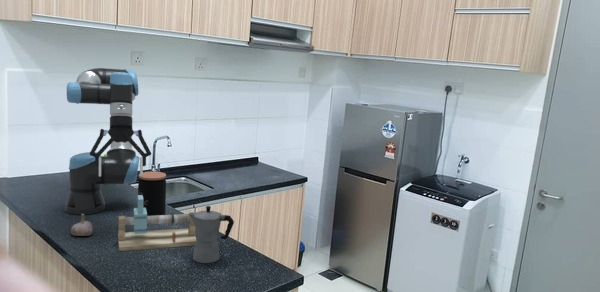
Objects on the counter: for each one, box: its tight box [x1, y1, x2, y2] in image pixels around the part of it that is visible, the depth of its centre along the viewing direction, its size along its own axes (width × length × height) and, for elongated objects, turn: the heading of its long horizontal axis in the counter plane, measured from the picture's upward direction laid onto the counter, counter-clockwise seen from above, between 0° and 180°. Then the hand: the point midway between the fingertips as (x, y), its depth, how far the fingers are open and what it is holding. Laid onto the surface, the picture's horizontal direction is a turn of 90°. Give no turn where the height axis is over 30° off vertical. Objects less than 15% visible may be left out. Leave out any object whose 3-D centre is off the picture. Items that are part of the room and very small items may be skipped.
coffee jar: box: [137, 171, 167, 216], centre depth 189 cm, size 11×11×18 cm
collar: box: [133, 194, 148, 234], centre depth 164 cm, size 7×4×12 cm, turn 22°
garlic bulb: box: [70, 214, 94, 237], centre depth 168 cm, size 8×7×8 cm
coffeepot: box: [188, 205, 235, 264], centre depth 156 cm, size 15×9×18 cm, turn 82°
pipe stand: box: [117, 211, 197, 252], centre depth 167 cm, size 13×26×10 cm, turn 112°
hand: (120, 176), depth 165 cm, fingers open, 13 cm apart
